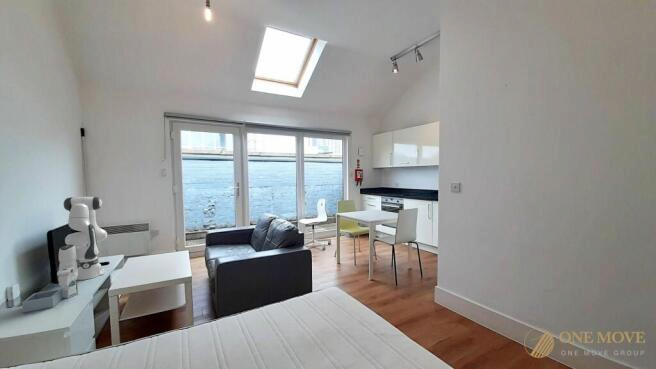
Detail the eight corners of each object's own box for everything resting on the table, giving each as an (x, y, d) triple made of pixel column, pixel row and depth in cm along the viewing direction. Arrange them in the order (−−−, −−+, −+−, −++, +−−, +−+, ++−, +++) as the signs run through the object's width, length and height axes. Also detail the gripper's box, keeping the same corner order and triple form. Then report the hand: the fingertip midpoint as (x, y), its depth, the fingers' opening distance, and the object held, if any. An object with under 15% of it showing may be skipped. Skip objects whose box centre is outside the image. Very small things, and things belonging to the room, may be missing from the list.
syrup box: (68, 298, 175) (67, 278, 174) (62, 297, 176) (60, 277, 175) (78, 294, 180) (76, 274, 180) (71, 293, 181) (70, 274, 181)
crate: (34, 303, 168) (33, 293, 168) (62, 298, 175) (62, 288, 174) (22, 313, 156) (22, 302, 156) (53, 307, 163) (52, 296, 162)
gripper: (68, 264, 185) (69, 283, 185) (55, 274, 167) (57, 294, 167) (80, 263, 188) (81, 281, 188) (68, 272, 170) (70, 292, 171)
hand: (69, 287), depth 178 cm, fingers closed on syrup box, 8 cm apart
